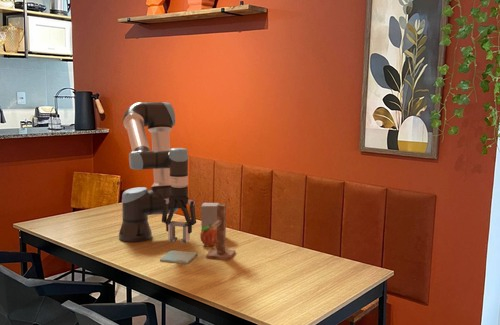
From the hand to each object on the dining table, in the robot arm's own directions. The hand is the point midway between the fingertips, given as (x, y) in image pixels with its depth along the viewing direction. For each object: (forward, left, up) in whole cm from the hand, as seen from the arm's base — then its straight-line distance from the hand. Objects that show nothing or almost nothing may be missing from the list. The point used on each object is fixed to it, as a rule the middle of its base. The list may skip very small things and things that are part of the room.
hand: (179, 239), depth 211 cm
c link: (0, 0, -1) cm, 1 cm away
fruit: (+7, +20, -8) cm, 23 cm away
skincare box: (+3, +34, -8) cm, 35 cm away
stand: (+16, +4, -8) cm, 18 cm away
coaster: (0, 0, -8) cm, 8 cm away
